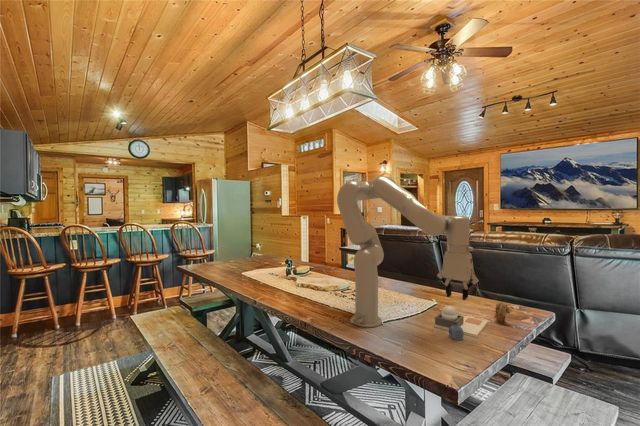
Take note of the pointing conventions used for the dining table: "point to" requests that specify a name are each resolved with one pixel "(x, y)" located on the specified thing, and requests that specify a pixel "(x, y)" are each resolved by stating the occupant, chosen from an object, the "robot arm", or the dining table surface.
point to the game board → (462, 324)
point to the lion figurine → (502, 311)
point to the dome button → (449, 313)
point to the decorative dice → (456, 332)
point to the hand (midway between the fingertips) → (456, 297)
